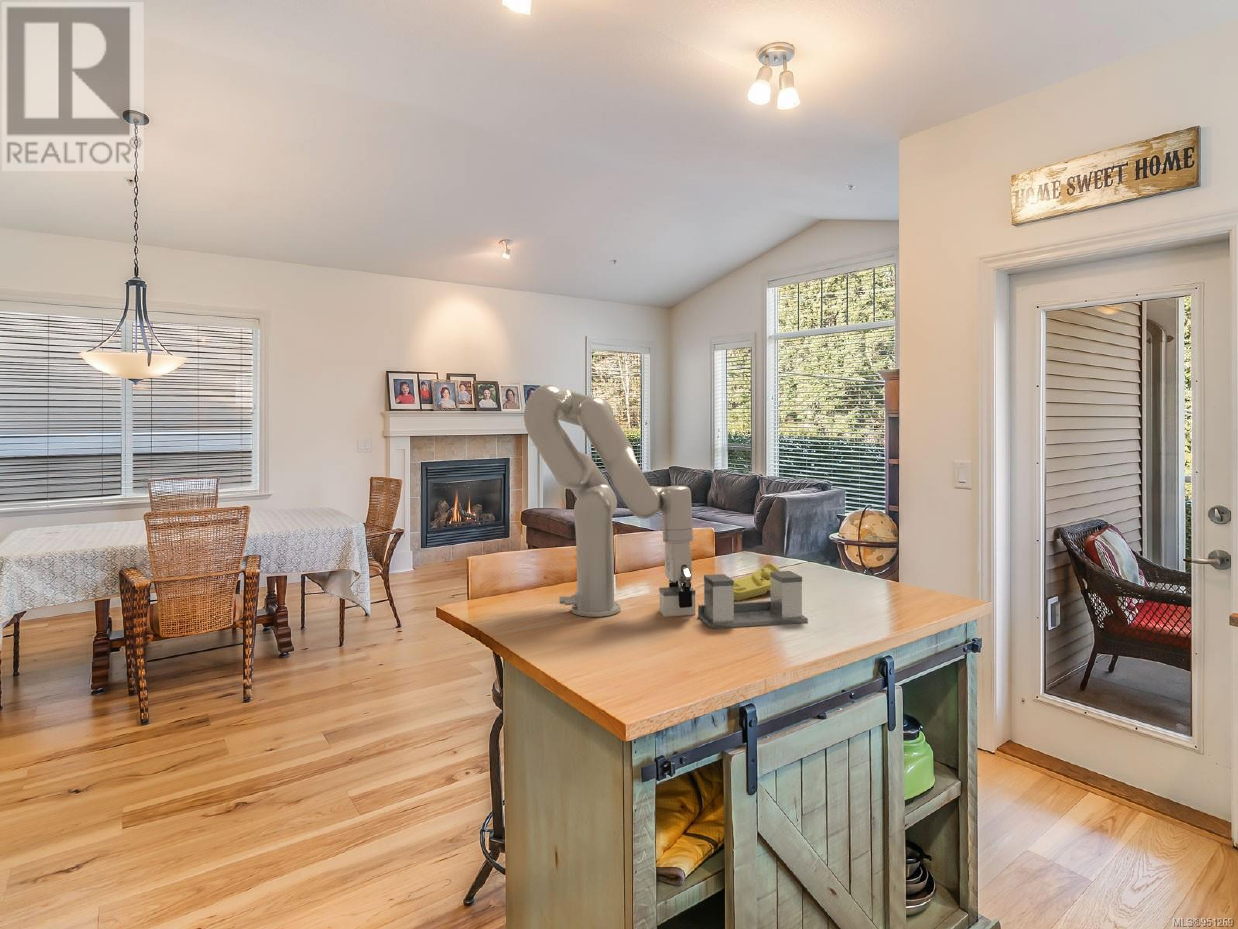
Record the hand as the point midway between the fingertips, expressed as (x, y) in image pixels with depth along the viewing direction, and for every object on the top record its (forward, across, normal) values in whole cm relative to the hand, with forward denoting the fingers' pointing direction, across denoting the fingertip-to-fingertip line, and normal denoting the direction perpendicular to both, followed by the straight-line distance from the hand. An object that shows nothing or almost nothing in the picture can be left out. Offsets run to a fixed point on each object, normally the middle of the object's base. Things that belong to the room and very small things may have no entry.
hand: (680, 602), depth 167 cm
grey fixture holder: (+3, +10, +15) cm, 18 cm away
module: (+3, 0, -1) cm, 3 cm away
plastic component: (+4, -15, +24) cm, 28 cm away
